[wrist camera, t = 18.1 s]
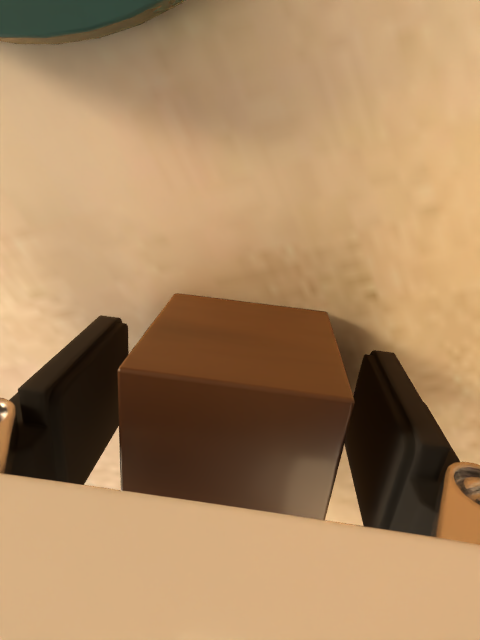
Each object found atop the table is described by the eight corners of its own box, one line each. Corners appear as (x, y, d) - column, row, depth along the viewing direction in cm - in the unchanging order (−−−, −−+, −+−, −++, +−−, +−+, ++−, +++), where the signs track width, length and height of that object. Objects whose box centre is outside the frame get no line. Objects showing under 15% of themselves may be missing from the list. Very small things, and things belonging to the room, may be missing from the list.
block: (303, 435, 13) (314, 565, 9) (170, 417, 13) (120, 536, 9) (328, 311, 11) (357, 401, 7) (174, 292, 11) (114, 368, 7)
